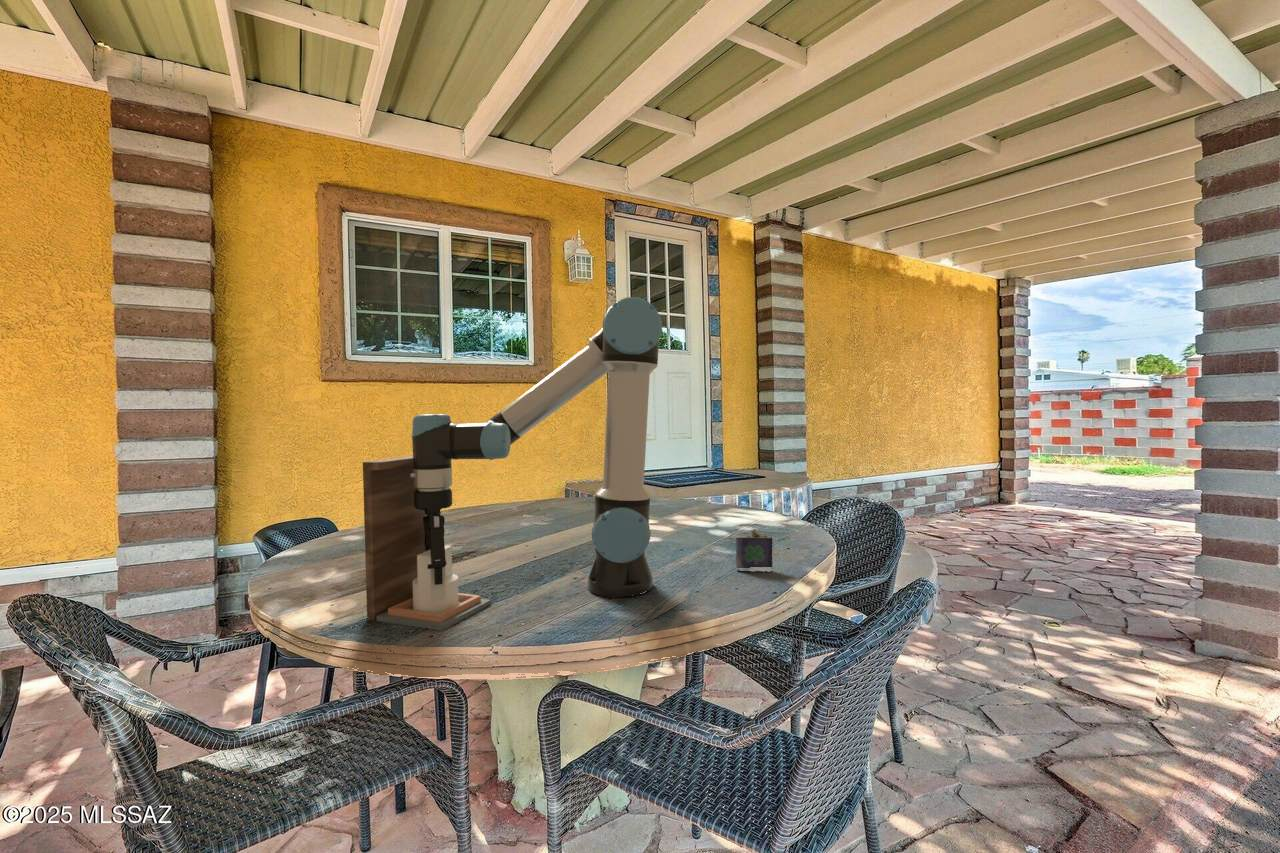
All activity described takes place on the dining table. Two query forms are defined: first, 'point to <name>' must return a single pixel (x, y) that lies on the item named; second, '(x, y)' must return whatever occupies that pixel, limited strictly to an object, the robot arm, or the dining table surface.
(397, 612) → the square coaster tray
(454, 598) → the cylinder with rectangular tab
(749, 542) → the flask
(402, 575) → the brown wooden panel
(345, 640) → the dining table surface
